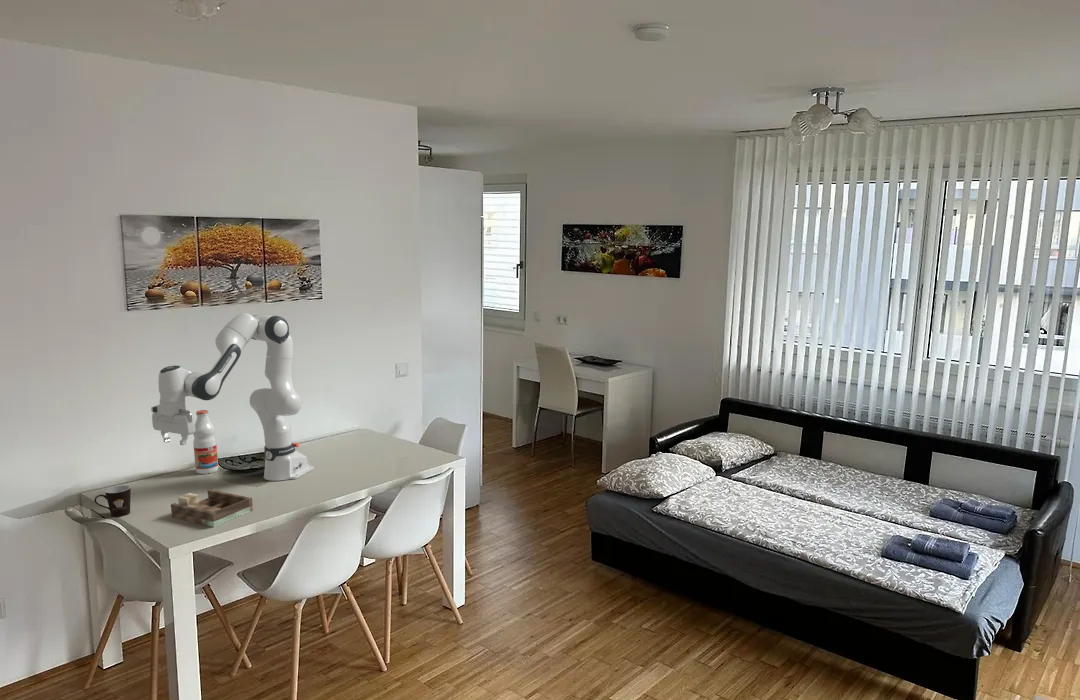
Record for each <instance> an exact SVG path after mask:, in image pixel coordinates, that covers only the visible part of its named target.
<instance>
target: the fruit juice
mask: <svg viewBox="0 0 1080 700" xmlns="http://www.w3.org/2000/svg"><path fill="white" fill-rule="evenodd" d="M195 414H196V419H195V420H196V421H195V433H194V434H192V435H193V437H194V438H193V441H192V442H193V444H192V445H193V454H194V464H195V465H194V466H195V472H196V473H197V474H199V475H208V473H209V474H213V473H216V472H217V471H218V470H219V461H218V459H219V458H218V447H217V445H218V444H217V439H216V436H215V432H216V429H215V425H214V424H213V423H212V422H211V419H210V418H209V415H208V414H209V411H208V410H207V409H201V410H197V411H195Z"/></svg>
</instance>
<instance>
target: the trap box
mask: <svg viewBox="0 0 1080 700" xmlns="http://www.w3.org/2000/svg"><path fill="white" fill-rule="evenodd" d="M253 505H254V504H253V498H252V497H249V496H244V495H239V494H233V493H228V492H224V491H220V490H214V489H208V490H207V498H205V499H202V500H199V508H193V507H189V506H184V505H180V504H179V503H176V502H174V503H171V504H170V508H171V509H170V510H171V517H172V518H175V519H177V520H183V521H186V522H190V523H196V524H200V525H204V526H208V527H211V528H212V527H213V528H215V527H217V525H218V526H220V525H222V524H225V523H227V522H229V521H231V519H232V520H234V519H236V518H239V517H241V516H243V515H246V514H248V513H251V512H252V511H254V507H253ZM245 513H246V514H245ZM240 515H241V516H240ZM238 516H239V517H238ZM235 517H236V518H235ZM233 518H234V519H233ZM228 520H229V521H228ZM226 521H227V522H226ZM224 522H225V523H224Z"/></svg>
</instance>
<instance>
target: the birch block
mask: <svg viewBox="0 0 1080 700" xmlns="http://www.w3.org/2000/svg"><path fill="white" fill-rule="evenodd" d="M199 499H200V498H199V494H197V493H196V494H195V493H191V492H188V493H185V494H182V495H180V496H178V497H177V501H178V504H180V505H184V506H189V507H193V508H199V501H200V500H199Z"/></svg>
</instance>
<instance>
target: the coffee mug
mask: <svg viewBox="0 0 1080 700" xmlns="http://www.w3.org/2000/svg"><path fill="white" fill-rule="evenodd" d="M104 493H105V494H98V495H96V496H95V497H94V502H95V504H96V505H98V506H99V507H101V508H104V509H108V510H109V512H110V515H111V517H113V518H121V517H124V516H127V515H129V514H131V499H132V498H131V494H132V487H131V486H130V485H127V484H123V485H114V486H111V487H109V488H106V489H105V490H104ZM99 497H103V498H105V500H107V505H108V506H105V505H103V504H100V503H98V501H97V499H98V498H99Z"/></svg>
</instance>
